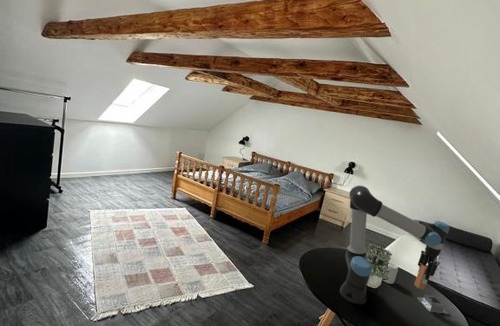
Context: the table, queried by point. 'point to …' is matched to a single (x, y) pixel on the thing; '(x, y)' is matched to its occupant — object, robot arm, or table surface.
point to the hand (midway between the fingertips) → (421, 280)
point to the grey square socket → (432, 304)
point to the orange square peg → (421, 277)
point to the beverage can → (392, 273)
